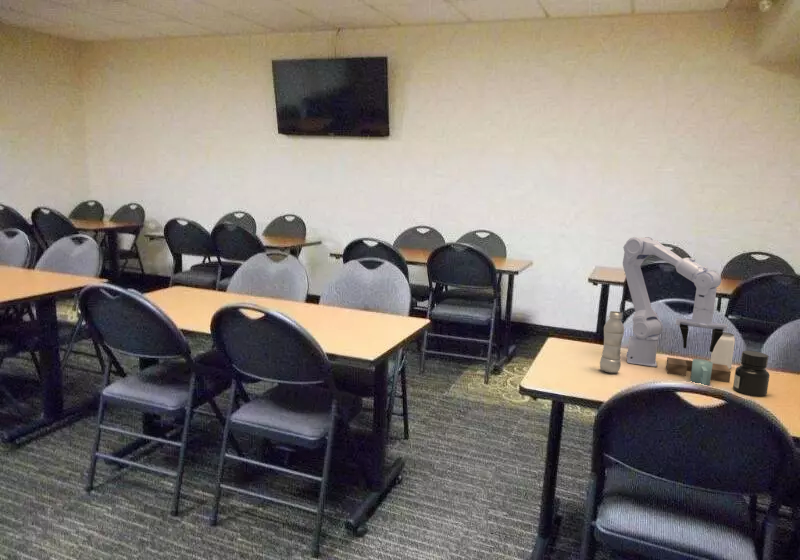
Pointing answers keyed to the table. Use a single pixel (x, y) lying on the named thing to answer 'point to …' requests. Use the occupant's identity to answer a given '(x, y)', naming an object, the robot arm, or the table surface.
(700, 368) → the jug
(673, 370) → the rack
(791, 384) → the table surface
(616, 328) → the plastic bottle
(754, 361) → the ink bottle
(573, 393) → the table surface
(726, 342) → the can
